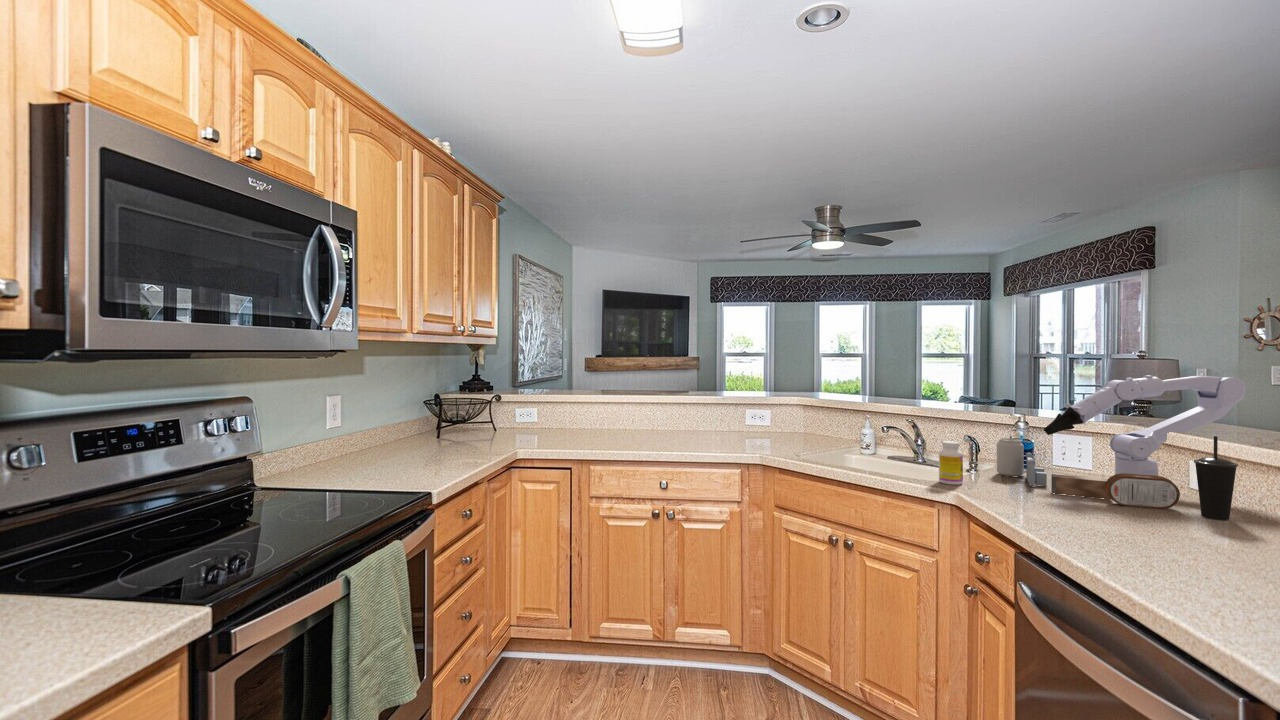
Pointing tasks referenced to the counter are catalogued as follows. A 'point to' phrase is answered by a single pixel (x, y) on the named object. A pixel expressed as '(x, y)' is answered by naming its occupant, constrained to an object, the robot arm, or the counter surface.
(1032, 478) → the grey blocky bracket
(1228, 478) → the drinking cup
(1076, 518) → the counter surface
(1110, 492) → the tin
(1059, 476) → the rail
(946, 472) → the supplement bottle
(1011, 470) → the can
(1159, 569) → the counter surface
